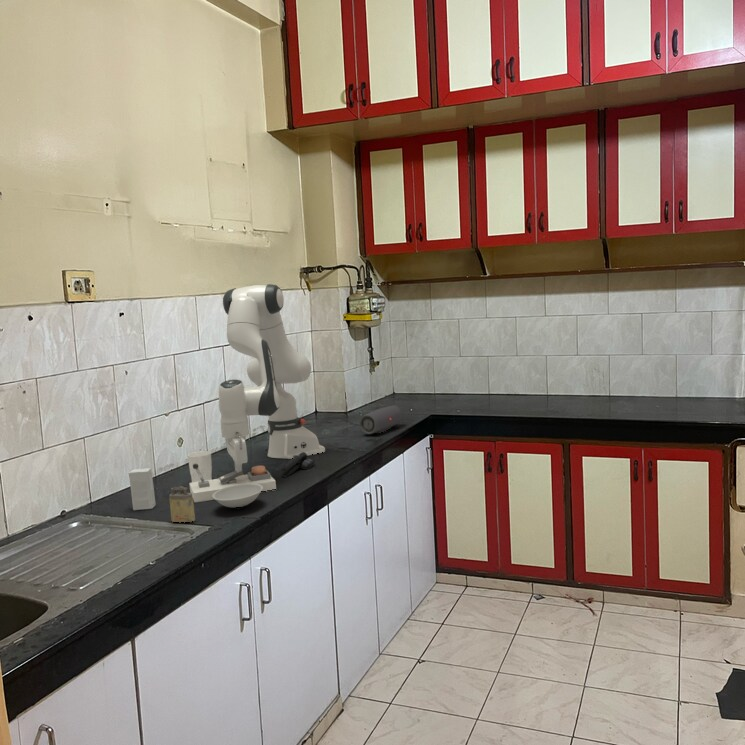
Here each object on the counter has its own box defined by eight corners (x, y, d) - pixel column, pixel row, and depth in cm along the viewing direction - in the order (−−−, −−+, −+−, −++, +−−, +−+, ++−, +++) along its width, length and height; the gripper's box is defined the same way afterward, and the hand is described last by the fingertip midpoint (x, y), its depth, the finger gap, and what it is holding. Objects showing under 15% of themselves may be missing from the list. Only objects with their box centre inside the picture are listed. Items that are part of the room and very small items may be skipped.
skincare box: (155, 505, 232) (152, 467, 231) (152, 509, 228) (148, 471, 227) (136, 506, 232) (132, 469, 231) (132, 510, 228) (128, 472, 227)
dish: (232, 498, 234) (231, 482, 234) (273, 499, 230) (272, 483, 229) (203, 515, 218) (201, 499, 217) (246, 517, 213) (244, 500, 213)
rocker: (241, 471, 245) (240, 468, 245) (243, 474, 241) (242, 471, 241) (219, 480, 243) (218, 477, 243) (221, 483, 239) (220, 480, 239)
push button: (264, 471, 248) (263, 464, 248) (266, 474, 244) (266, 467, 244) (251, 473, 247) (250, 466, 246) (253, 476, 242) (252, 469, 242)
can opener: (299, 465, 273) (298, 450, 272) (316, 465, 270) (315, 450, 269) (274, 478, 257) (272, 462, 256) (291, 478, 254) (290, 462, 253)
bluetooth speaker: (377, 437, 311) (376, 414, 310) (359, 436, 316) (357, 413, 315) (404, 426, 330) (402, 404, 329) (386, 425, 335) (384, 404, 334)
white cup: (204, 477, 263) (201, 450, 262) (218, 480, 258) (215, 452, 257) (185, 483, 257) (182, 455, 256) (199, 486, 252) (197, 457, 251)
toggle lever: (205, 479, 241) (196, 462, 239) (206, 481, 239) (197, 463, 237) (200, 482, 240) (191, 464, 239) (201, 483, 238) (192, 465, 237)
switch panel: (267, 480, 254) (266, 466, 253) (276, 489, 240) (275, 476, 240) (190, 491, 245) (188, 478, 245) (194, 502, 232) (193, 488, 232)
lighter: (197, 519, 215) (194, 485, 213) (191, 523, 211) (188, 489, 210) (175, 519, 216) (171, 485, 215) (168, 523, 213) (165, 489, 211)
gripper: (250, 434, 232) (253, 477, 234) (239, 424, 252) (243, 464, 253) (230, 436, 230) (233, 480, 232) (221, 426, 250) (224, 466, 251)
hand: (238, 471), depth 243 cm, fingers closed, pressing on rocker
